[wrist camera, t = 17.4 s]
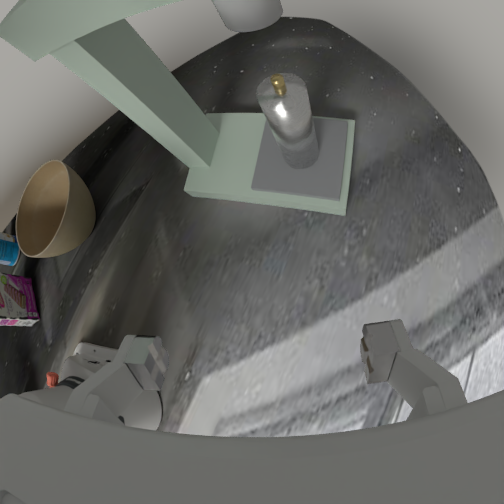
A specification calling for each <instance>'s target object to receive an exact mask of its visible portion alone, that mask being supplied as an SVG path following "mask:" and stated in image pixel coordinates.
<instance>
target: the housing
mask: <svg viewBox="0 0 504 504" xmlns="http://www.w3.org/2000/svg"><path fill="white" fill-rule="evenodd" d="M256 97H257V100H258V102H259V104H260V107H261V109H262V111H263V113H264V115H265V117H266V120H267V122H268V124H269V126H270V129H271V131H272V133H273V135H274V138H275V140H276V142H277V144H278V147H279V149H280V151H281V154H282V156H283V158H284V160H285V162H286V163H287V164H288V165H289V166H290V167H292V168H295V169H306V168H309V167H310V166H312V165H313V164H314V163H315V162H316V161H317V159H318V156H319V149H318V143H317V138H316V132H315V127H314V122H313V117H312V112H311V107H310V102H309V97H308V93H307V88H306V84H305V82H304V81H303V80H302V79H301V78H300V77H298V76H296V75H294V74H290V73H278V74H274V75H272V76H269V77H268V78H266V79H264V80H263V81H262V82H261V83H260V85H259V86H258V88H257V91H256Z"/></svg>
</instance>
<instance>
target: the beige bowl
mask: <svg viewBox="0 0 504 504" xmlns="http://www.w3.org/2000/svg"><path fill="white" fill-rule="evenodd" d="M95 219H96V211H95V206H94V202H93V199H92V196H91V194H90V192H89V190H88V188H87V186H86V184H85V183H84V182H83V180H82V179H81V178H80V176H79V175H78V174H77V173H76V172H75V171H74V170H73V169H72V168H70V167H69V166H68V165H67V164H65V163H63V162H62V161H60V160H50V161H48V162H46V163H45V164H43V165H42V166H41V167H40V168H39V169H37V171H36V172H35V173H34V174H33V176H32V177H31V179H30V180H29V182H28V184H27V185H26V187H25V189H24V192H23V194H22V197H21V200H20V203H19V207H18V211H17V217H16V237H17V242H18V245H19V247H20V249H21V251H22V252H23V253H24V254H25V255H26V256H28V257H34V258H46V257H54V256H58V255H61V254H64V253H67V252H69V251H71V250H73V249H74V248H76V247H77V246H79V245H80V244H81V243H83V242H84V241H85V240H86V239H87V238H88V237H89V235H90V234H91V232H92V230H93V228H94V225H95Z"/></svg>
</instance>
